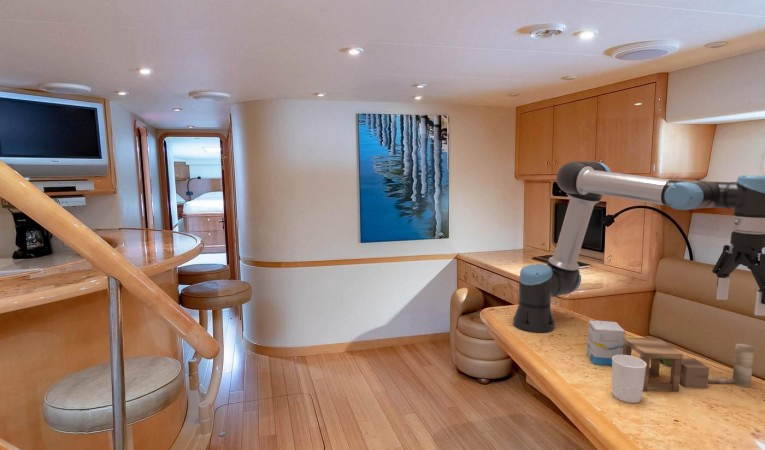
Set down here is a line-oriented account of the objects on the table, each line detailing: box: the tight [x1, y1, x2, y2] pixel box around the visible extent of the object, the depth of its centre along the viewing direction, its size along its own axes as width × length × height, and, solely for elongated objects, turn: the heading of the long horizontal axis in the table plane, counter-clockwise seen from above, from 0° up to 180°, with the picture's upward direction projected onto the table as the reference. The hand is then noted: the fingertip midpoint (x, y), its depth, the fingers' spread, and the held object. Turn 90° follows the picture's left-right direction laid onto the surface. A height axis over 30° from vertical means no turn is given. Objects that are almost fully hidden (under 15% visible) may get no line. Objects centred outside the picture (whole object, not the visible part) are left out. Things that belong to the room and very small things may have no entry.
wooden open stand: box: [623, 337, 684, 393], centre depth 121 cm, size 11×10×11 cm
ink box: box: [586, 320, 626, 367], centre depth 135 cm, size 8×8×12 cm
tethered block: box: [680, 343, 756, 389], centre depth 120 cm, size 6×20×11 cm, turn 88°
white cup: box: [611, 355, 647, 404], centre depth 113 cm, size 8×8×10 cm
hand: (740, 306), depth 119 cm, fingers open, 13 cm apart
